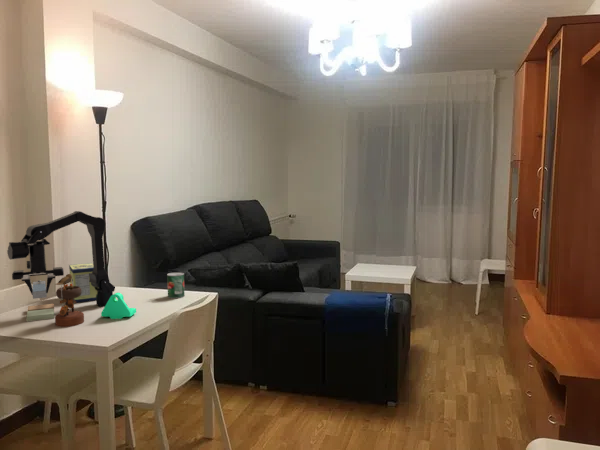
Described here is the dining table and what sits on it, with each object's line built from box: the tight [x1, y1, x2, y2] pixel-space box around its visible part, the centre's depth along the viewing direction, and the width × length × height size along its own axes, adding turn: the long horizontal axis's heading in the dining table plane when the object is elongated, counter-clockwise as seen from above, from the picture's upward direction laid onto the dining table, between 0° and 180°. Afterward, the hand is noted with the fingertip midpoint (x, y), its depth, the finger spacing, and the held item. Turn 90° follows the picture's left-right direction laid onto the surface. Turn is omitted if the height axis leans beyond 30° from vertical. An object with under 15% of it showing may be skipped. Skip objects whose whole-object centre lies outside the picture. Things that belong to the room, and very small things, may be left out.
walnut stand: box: [27, 303, 55, 311], centre depth 225 cm, size 10×7×2 cm
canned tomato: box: [166, 271, 186, 299], centre depth 250 cm, size 8×8×11 cm
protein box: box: [68, 262, 97, 304], centre depth 247 cm, size 10×16×16 cm
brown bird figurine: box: [54, 273, 85, 328], centre depth 208 cm, size 15×11×20 cm
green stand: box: [26, 307, 55, 322], centre depth 216 cm, size 10×9×2 cm
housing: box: [32, 279, 48, 300], centre depth 215 cm, size 7×5×6 cm
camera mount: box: [100, 292, 137, 320], centre depth 217 cm, size 12×8×10 cm, turn 87°
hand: (39, 293), depth 215 cm, fingers closed on housing, 5 cm apart
